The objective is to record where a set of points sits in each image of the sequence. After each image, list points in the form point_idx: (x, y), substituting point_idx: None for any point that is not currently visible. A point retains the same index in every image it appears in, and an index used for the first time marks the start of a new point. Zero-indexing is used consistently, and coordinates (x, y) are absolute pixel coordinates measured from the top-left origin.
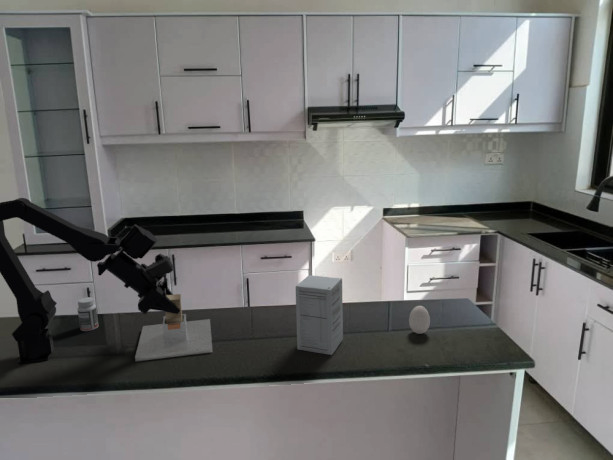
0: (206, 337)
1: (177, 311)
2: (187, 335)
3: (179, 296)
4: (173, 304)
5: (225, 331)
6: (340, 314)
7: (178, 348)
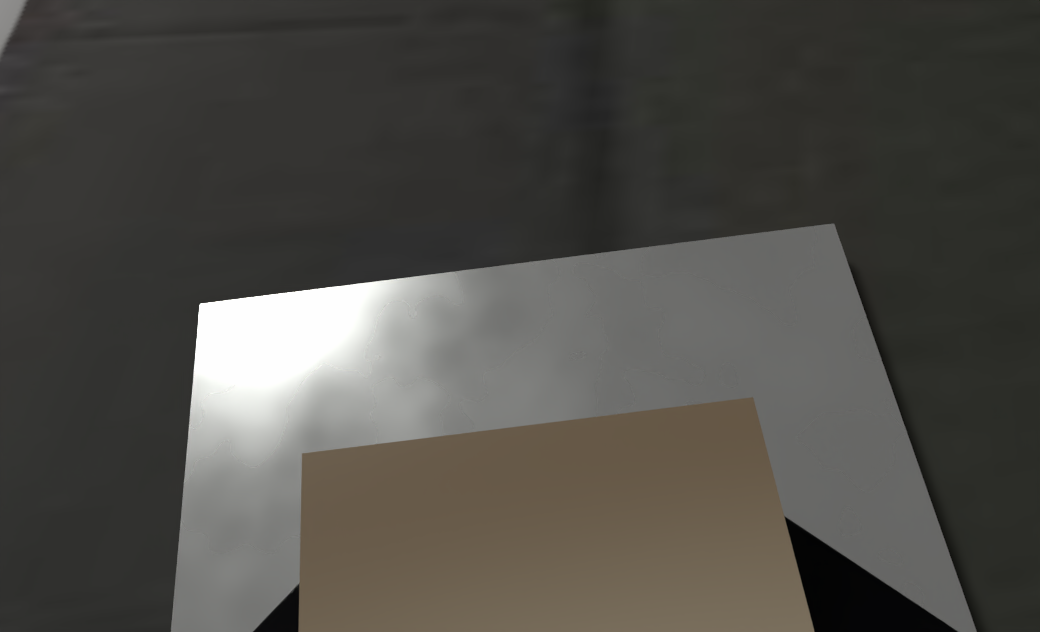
0: (622, 290)
1: None
2: None
3: (526, 449)
4: (887, 592)
5: (433, 184)
6: None
7: (862, 533)
